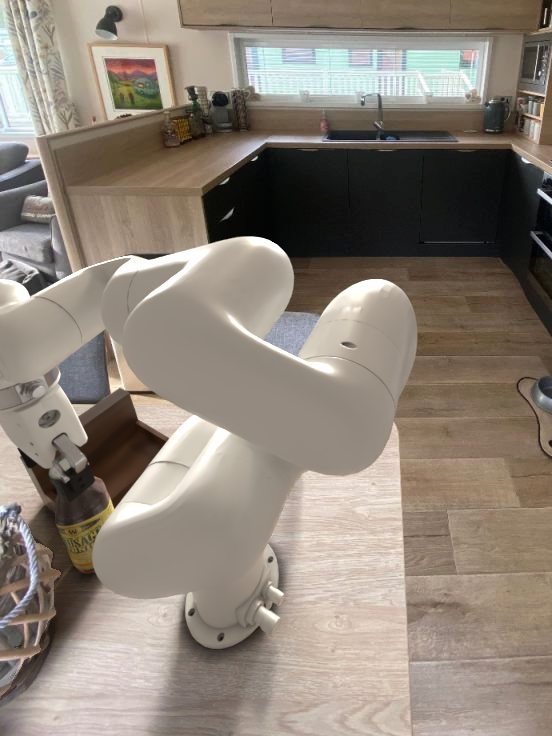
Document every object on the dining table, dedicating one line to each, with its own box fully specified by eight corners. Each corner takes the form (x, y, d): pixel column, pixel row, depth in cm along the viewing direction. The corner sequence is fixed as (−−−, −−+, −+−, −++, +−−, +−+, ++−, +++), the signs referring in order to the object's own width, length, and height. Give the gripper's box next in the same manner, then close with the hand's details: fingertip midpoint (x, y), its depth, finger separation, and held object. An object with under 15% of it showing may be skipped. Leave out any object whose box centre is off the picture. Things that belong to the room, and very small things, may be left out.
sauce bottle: (67, 581, 57) (19, 493, 49) (88, 534, 63) (48, 449, 55) (117, 571, 58) (77, 483, 50) (133, 526, 64) (99, 441, 56)
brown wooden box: (174, 455, 75) (160, 410, 70) (85, 540, 62) (61, 491, 57) (134, 431, 80) (119, 387, 75) (44, 504, 67) (19, 456, 62)
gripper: (93, 383, 46) (128, 479, 53) (18, 338, 53) (57, 428, 60) (16, 433, 40) (66, 534, 47) (-58, 375, 47) (-5, 470, 54)
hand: (61, 474), depth 53 cm, fingers open, 9 cm apart
